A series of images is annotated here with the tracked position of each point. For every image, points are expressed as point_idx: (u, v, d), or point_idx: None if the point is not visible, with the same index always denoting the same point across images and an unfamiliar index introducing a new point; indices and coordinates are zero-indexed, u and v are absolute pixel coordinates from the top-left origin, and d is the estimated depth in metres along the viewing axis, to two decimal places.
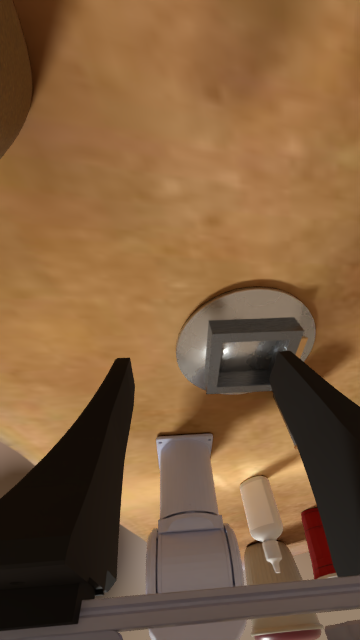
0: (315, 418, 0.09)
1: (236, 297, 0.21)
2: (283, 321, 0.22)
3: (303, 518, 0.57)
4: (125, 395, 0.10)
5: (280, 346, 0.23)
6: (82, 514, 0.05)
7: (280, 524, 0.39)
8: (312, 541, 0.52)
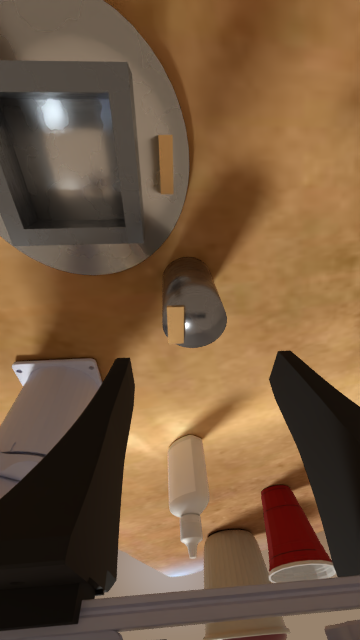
0: (315, 418, 0.09)
1: None
2: None
3: (262, 498, 0.46)
4: (125, 395, 0.10)
5: None
6: (82, 514, 0.05)
7: (205, 493, 0.28)
8: (269, 525, 0.42)
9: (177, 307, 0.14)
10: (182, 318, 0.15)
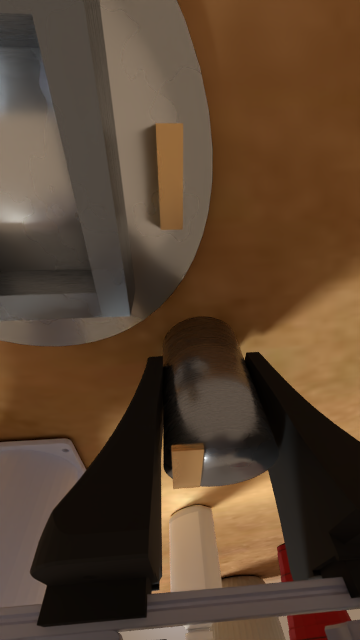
0: (275, 420, 0.09)
1: None
2: None
3: (279, 556, 0.40)
4: (161, 393, 0.10)
5: None
6: (151, 509, 0.05)
7: None
8: None
9: (191, 451, 0.07)
10: (200, 462, 0.08)
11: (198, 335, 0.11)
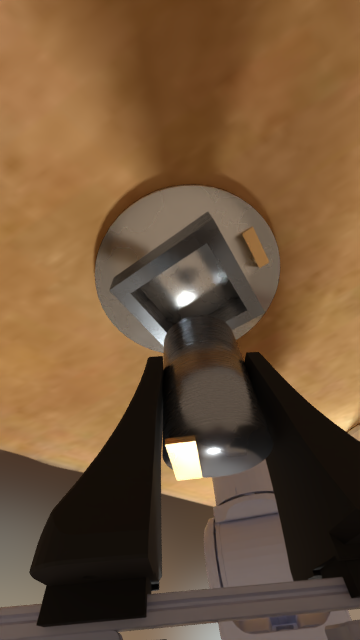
0: (275, 420, 0.09)
1: (115, 232, 0.16)
2: (192, 225, 0.15)
3: None
4: (161, 393, 0.10)
5: None
6: (151, 509, 0.05)
7: None
8: None
9: (183, 443, 0.08)
10: (195, 453, 0.08)
11: (192, 333, 0.11)
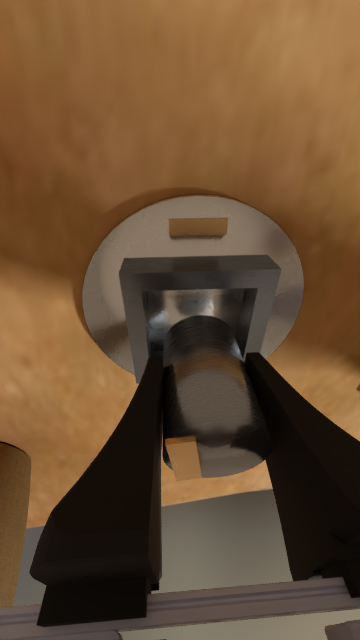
0: (275, 420, 0.09)
1: (101, 339, 0.16)
2: None
3: None
4: (161, 393, 0.10)
5: None
6: (151, 509, 0.05)
7: None
8: None
9: (183, 443, 0.08)
10: (195, 453, 0.08)
11: (192, 333, 0.11)
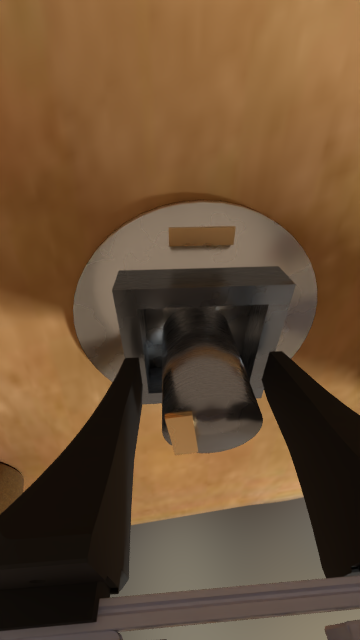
0: (304, 419, 0.09)
1: (94, 356, 0.15)
2: None
3: None
4: (135, 395, 0.10)
5: None
6: (100, 513, 0.05)
7: None
8: None
9: (181, 417, 0.09)
10: (192, 427, 0.09)
11: (189, 321, 0.12)
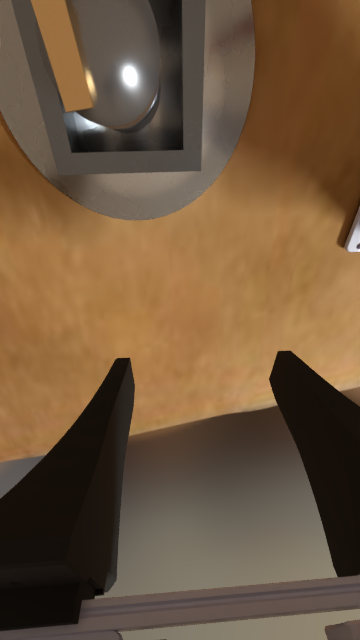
0: (315, 418, 0.09)
1: (16, 126, 0.14)
2: None
3: None
4: (125, 395, 0.10)
5: None
6: (82, 514, 0.05)
7: None
8: None
9: None
10: (68, 25, 0.08)
11: None
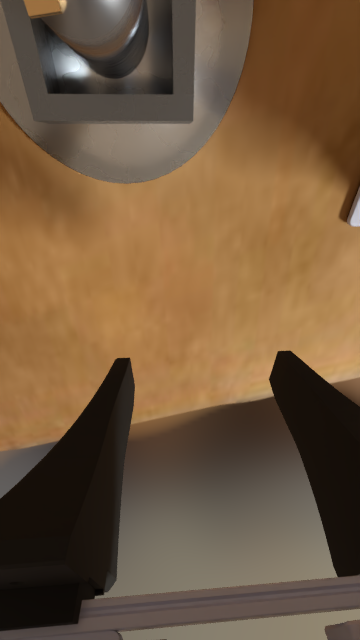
0: (315, 418, 0.09)
1: None
2: None
3: None
4: (125, 395, 0.10)
5: None
6: (82, 514, 0.05)
7: None
8: None
9: None
10: None
11: None
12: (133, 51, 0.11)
